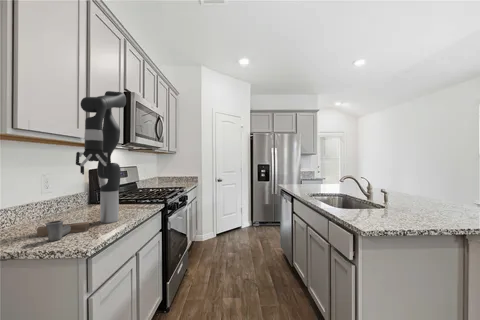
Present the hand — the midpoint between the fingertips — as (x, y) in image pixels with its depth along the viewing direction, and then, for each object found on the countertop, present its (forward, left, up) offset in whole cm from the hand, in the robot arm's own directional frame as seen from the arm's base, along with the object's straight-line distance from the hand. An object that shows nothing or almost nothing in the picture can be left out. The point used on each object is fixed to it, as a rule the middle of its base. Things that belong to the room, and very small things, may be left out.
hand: (93, 174), depth 118 cm
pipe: (0, -14, -28) cm, 31 cm away
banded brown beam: (-9, -12, -28) cm, 32 cm away
